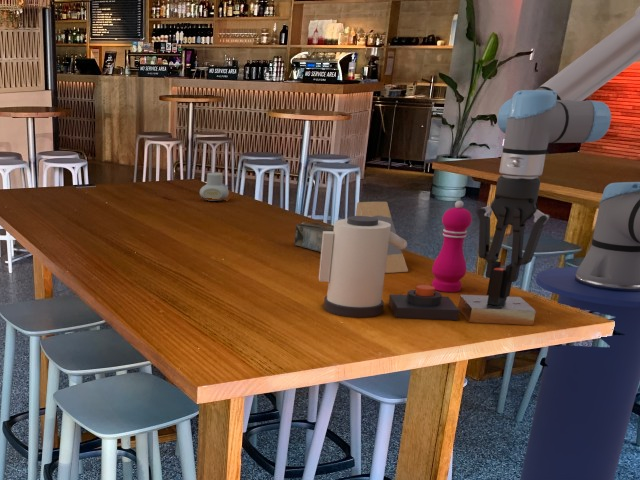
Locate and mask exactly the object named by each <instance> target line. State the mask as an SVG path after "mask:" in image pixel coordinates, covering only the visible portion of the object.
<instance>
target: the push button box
mask: <svg viewBox="0 0 640 480" xmlns="http://www.w3.org/2000/svg"><path fill="white" fill-rule="evenodd" d="M415 293H416V289H410V290H408V291H407V293H406V294H392V293H391V294H389V296H388V297H389V299H388V306H389V307H390V310H391V311H392V314H393V315H394V317H395V318H396V319H413V320H414V319H417V320H437V321H458V320H459V315H460V310H459V309H458V306H456V304H455V303H454V302H453V300H451V298H450V297H449V296H443V295H442V293H441V292H440V291H437V290H435V291H434V296H420V295H416V294H415Z"/></svg>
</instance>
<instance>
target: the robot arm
mask: <svg viewBox="0 0 640 480" xmlns="http://www.w3.org/2000/svg"><path fill="white" fill-rule="evenodd" d="M638 60H640V5H639V6H638V7H637V8H636V9H635V12H634V15H633V16H632V17H631V18H630V19H629V20H627V21H626V22H624V23H623V24H622V25H620V26H619V27H617V29H615V30H614V31H613V32H611V33H609V34H608V35H607V36H606V37H604V38H603V39H601V40H600V41H599V42H597V43H596V44H595V45H594V46H592V47H590V48H589V49H588V50H587V51H586V52H584V53H583V54H582V55H580V56H579V57H578V58H576V59H574V61H572V62H571V63H569V64H568V65H567V66H566V67H564V68H563V69H561V70H560V71H559V72H557V73H556V74H555V75H553V76H552V77H551V78H549V79H548V80H547V81H545V82H544V83H543V84H541V85H540V86H539V87H537V88H536V89H523V90H522V89H521V90H517V91H516V92H515V93H514V94H513V95H512V98H510V99H508V100H506V101H505V102H504V103H503V104H502V105H501V106H500V108H499V110H498V114H497V119H496V120H497V125H498V128H499V130H500V131H501V132H502V133H503V134H504V141H503V146H502V152H501V159H500V163H499V170H498V172H499V174H500V175H499V176H498V177H497V180H496V187H495V191H494V198H493V200H492V201H491V202H490V205H487V206H483V207H480V208H477V210H476V214H477V217H478V220H479V225H478V226H479V228H478V229H479V231H478V236H479V237H478V258H480V259H483V260H485V261H486V268H485V269H486V270H485V278H486V279H489V280H488V285H487V291H486V296H489V290H490V285H491V279H492V273H493V270H494V268H498V267H500V266H502V261H499V259H500V257H499V256H500V252H501V248H502V245H503V243H504V239H505V236H506V231H507V228H508V227H509V226H512V245H511V259H510V263H509V264H507V265H505V266H506V271H505V276H504V282H503V287H502V293H501V298H506V297H510V295H511V288H512V284H513V283H515V282H517V281H518V279H519V275H520V268H521V266H524V265H528V264H530V263H531V262H532V261H533V258H534V255H535V252H536V250H537V247H538V243H539V241H540V238H541V236H542V232H543V230H544V227H545V226H546V224H547V223H548V222H549V221H550V219H551V215H550V214H549V213H544V212H542V211H541V210H539V205H538V198H539V191H540V187H541V181H542V180H541V178H539V177H540V176H542V175H543V171H544V167H545V161H546V156H547V152H548V146H549V144H571V143H573V144H574V143H576V144H585V143H593V142H598V141H600V139H602V138H603V137H604V136H605V135H606V134H607V133H608V131H609V129H610V125H611V121H612V113H611V109H610V108H609V105H608V104H606V103H605V102H603V101H598V100H590V99H589V100H588V99H587V98H588V97H590V96H591V95H592V94H593V93H595V92H596V91H598V90H599V89H600V88H601V87H603V86H604V85H606V84H607V83H609V82H610V81H611V80H613V79H614V78H615V77H617V76H618V75H619V74H621V73H622V72H624V71H625V70H626V69H628V68H629V67H631V65H633V64H634V63H636V62H637V61H638ZM586 99H587V100H586ZM492 215H494V217H495V219H496V220H497V221H496V224H495V231H494V234H493V238H492V240H491V217H492ZM596 215H597V216H596V220H595V226H594V231H593V235H592V240H591V245H590V247H589V249H588V252H587V253H586V255H585V256H584V258H583V260H582V261H581V263H580V264H579V266H578V267H579V268H578V270H577V272H576V276H575V281H577V282H578V283H580V284H583V285H586V286H589V287H593V288H598V289H603V290H610V291H621V292H640V181H622V182H611V183H608V184H607V185H606V186H605V187H604V189H603V193H602V195H601V199H600V200H599V205H598V211H597V214H596ZM532 217H534V218H533V223H534V224H533V226H532V229H531V231H530V234H529V237H528V240H527V243H526V246H525V249H524V237H525V229H526V225H527V222H528V221H529V220H530V219H531V218H532ZM490 243H491V244H490ZM523 249H524V251H523Z"/></svg>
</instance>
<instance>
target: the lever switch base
mask: <svg viewBox="0 0 640 480" xmlns="http://www.w3.org/2000/svg"><path fill="white" fill-rule="evenodd" d="M487 302H488V295H483V294H482V295H481V294H480V295H479V294H478V295H477V294H459V299H458V304H457V308H458V309H459V313H461V314H462V315H463V316H464V318H465V319H466V320H467V321H468V323H471V324H472V323H473V324H474V323H475V324H498V325H517V326H518V325H520V326H521V325H522V326H534V322H535V317H536V311H537V310H536V309H535V308H534V307H533V306H531V304H529V303H528V302H527V301H525V300H524V299H523V298H522V297H521V296H508V297H507V299H506V301H504V302H502V303H501V304H499V305H492V304H487Z"/></svg>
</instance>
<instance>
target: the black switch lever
mask: <svg viewBox="0 0 640 480" xmlns="http://www.w3.org/2000/svg"><path fill="white" fill-rule="evenodd" d="M506 266H507V265H500V267H498V268H494V270H493V273H492V279H491V285H490V290H489V296H488V295H487V296H488V302H487V304H492V305H499V304H501V303H502V302H504V301H506V299H507V297H506V298H501V293H502V287H503V282H504V276H505V271H506Z"/></svg>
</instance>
